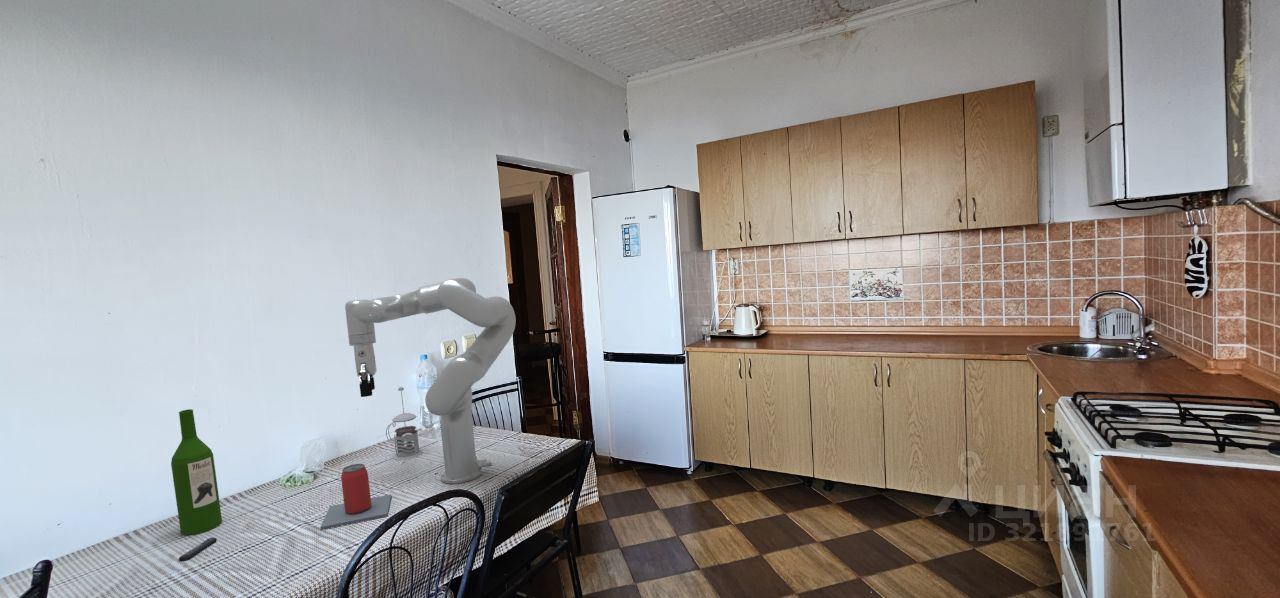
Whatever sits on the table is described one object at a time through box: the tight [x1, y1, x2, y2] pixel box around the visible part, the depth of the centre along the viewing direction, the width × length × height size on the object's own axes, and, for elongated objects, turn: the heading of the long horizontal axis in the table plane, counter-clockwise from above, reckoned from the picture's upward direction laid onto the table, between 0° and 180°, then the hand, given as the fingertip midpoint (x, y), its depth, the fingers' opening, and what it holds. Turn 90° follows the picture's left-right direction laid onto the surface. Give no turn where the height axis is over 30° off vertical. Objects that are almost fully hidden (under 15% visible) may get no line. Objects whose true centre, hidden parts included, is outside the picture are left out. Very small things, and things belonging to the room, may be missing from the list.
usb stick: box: [178, 537, 217, 562], centre depth 139 cm, size 10×3×2 cm, turn 179°
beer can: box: [340, 463, 372, 514], centre depth 155 cm, size 7×7×12 cm
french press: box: [385, 386, 424, 461], centre depth 200 cm, size 10×12×25 cm
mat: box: [320, 494, 392, 531], centre depth 155 cm, size 16×14×1 cm
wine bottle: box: [170, 408, 223, 536], centre depth 152 cm, size 9×9×32 cm
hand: (368, 393), depth 176 cm, fingers open, 9 cm apart
